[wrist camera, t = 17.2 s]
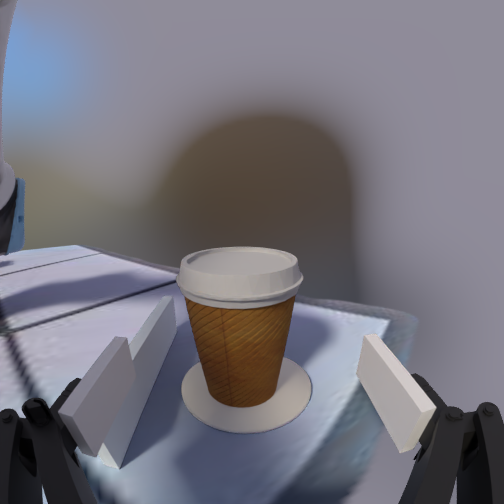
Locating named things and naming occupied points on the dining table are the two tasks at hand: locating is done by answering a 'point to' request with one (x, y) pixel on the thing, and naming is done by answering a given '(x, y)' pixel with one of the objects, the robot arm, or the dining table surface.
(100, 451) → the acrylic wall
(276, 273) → the disposable coffee cup
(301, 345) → the dining table surface
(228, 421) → the mat
